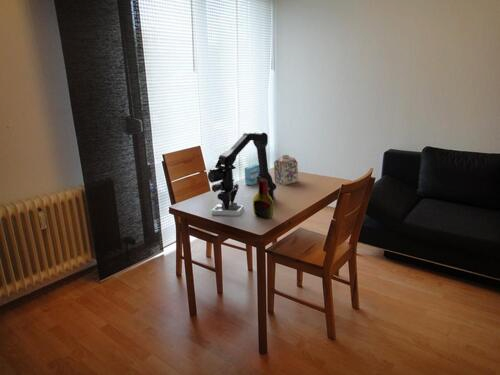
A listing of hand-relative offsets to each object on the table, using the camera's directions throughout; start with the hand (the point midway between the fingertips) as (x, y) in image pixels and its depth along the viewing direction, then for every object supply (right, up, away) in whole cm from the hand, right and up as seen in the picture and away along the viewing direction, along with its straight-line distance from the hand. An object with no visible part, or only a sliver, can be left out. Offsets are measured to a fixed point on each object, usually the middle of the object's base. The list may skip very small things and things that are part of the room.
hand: (229, 206), depth 191 cm
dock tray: (-1, -3, +1) cm, 3 cm away
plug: (-1, -2, +1) cm, 3 cm away
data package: (+14, +13, +50) cm, 53 cm away
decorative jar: (+35, +14, +49) cm, 62 cm away
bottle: (+18, -5, -8) cm, 20 cm away
